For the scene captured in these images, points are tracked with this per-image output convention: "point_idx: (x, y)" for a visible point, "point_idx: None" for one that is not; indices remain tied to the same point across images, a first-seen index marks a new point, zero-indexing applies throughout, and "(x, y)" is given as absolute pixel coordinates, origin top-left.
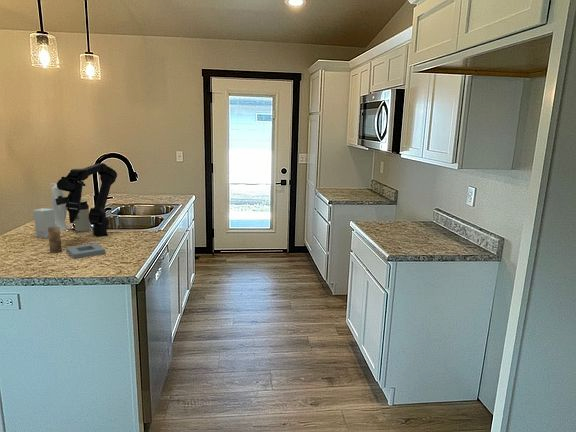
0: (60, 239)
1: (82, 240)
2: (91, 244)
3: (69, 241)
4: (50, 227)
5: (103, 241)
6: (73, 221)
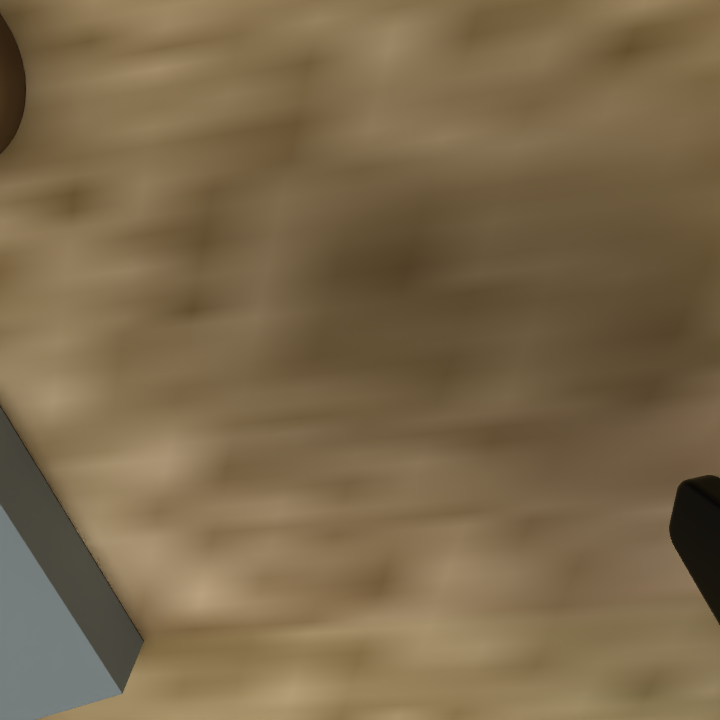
0: None
1: (633, 423)
2: (40, 641)
3: (644, 212)
4: None
5: (458, 698)
6: (706, 601)
